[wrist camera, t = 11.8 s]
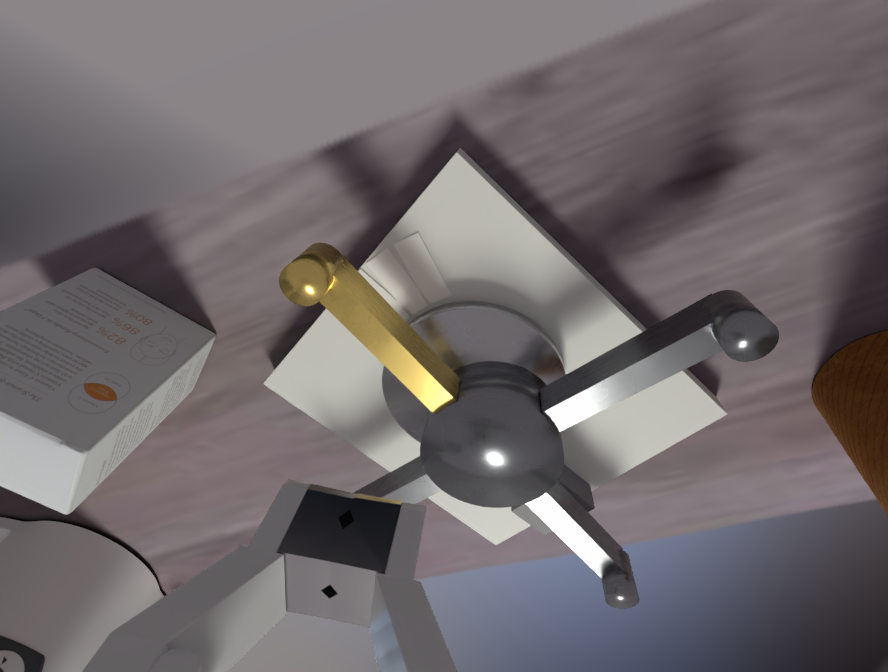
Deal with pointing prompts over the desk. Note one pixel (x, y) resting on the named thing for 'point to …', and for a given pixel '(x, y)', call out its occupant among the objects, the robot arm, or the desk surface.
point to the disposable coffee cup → (859, 406)
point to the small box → (87, 383)
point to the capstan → (511, 394)
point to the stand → (507, 284)
